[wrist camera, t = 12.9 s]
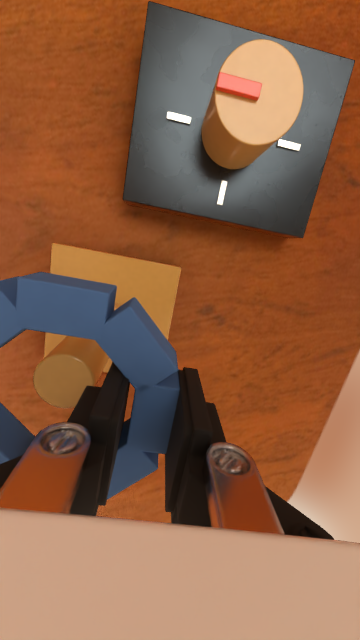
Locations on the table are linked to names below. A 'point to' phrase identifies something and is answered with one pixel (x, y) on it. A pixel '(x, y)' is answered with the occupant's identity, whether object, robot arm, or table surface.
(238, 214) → the black dial base plate
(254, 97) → the rotary dial knob
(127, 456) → the segmented ring
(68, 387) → the wooden peg stand
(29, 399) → the table surface
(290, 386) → the table surface
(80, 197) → the table surface
